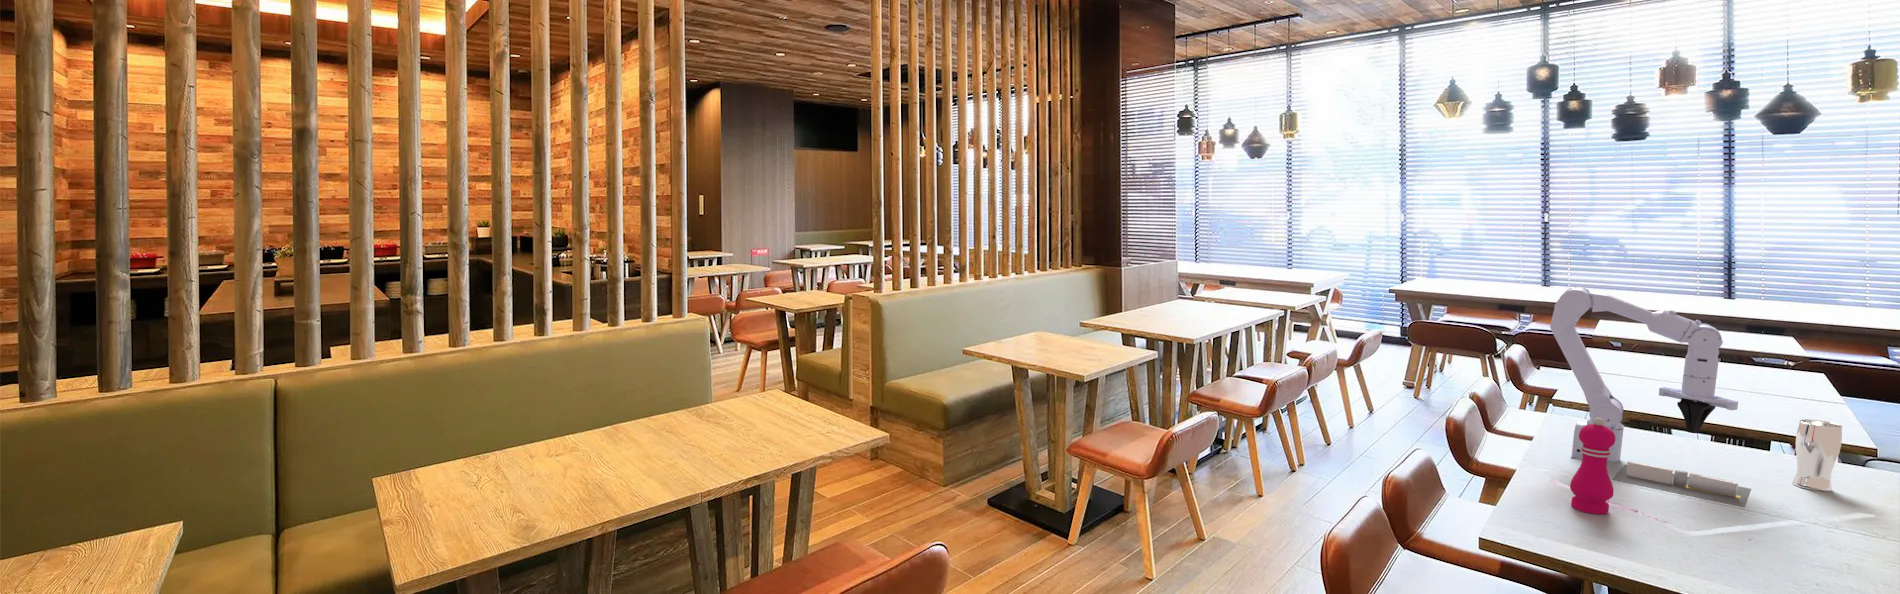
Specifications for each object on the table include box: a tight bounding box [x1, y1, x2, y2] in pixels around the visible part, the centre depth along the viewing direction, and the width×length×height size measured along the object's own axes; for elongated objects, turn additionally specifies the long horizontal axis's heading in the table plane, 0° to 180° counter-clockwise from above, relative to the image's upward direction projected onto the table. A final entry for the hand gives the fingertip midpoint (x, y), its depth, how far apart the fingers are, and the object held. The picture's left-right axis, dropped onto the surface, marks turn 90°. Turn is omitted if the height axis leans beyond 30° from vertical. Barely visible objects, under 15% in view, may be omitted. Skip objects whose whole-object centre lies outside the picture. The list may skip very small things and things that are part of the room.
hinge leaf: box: [1688, 472, 1739, 497], centre depth 177 cm, size 8×1×3 cm, turn 37°
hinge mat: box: [1611, 460, 1752, 508], centre depth 182 cm, size 22×16×4 cm
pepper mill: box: [1569, 418, 1615, 515], centre depth 169 cm, size 7×7×20 cm
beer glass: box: [1792, 418, 1843, 492], centre depth 182 cm, size 7×7×15 cm
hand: (1692, 432), depth 190 cm, fingers closed
